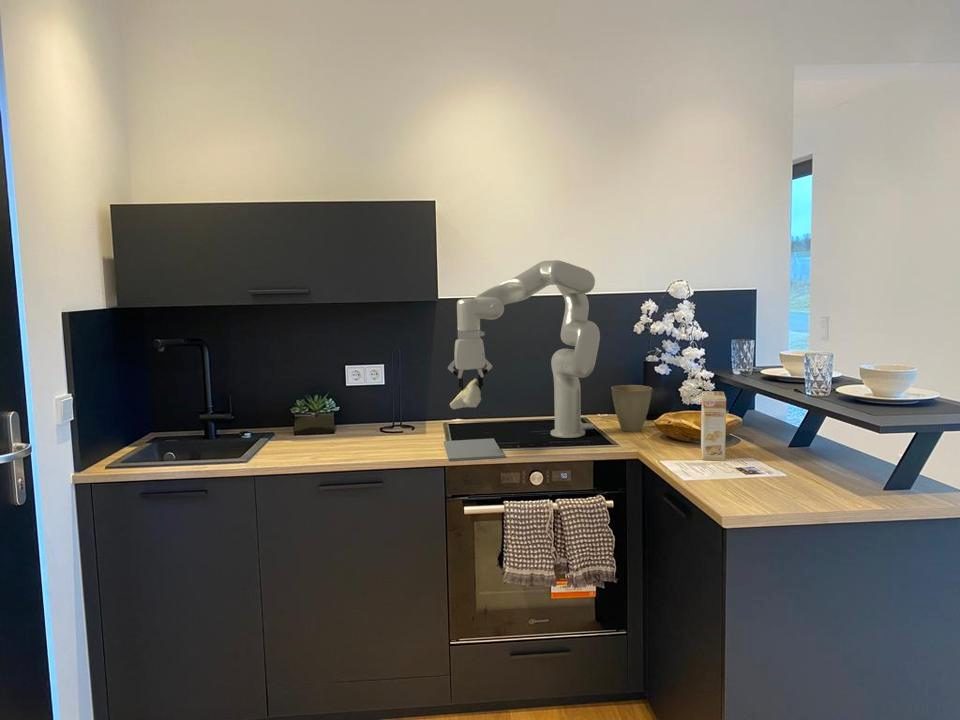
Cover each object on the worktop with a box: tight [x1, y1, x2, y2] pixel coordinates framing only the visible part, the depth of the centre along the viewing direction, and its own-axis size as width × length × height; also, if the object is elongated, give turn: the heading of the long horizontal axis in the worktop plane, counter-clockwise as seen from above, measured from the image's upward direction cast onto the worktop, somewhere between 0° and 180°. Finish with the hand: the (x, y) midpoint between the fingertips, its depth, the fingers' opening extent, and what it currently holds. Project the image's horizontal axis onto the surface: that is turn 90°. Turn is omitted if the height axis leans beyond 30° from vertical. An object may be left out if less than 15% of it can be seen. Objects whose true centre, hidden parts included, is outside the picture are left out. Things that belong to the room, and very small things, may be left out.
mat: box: [443, 438, 505, 462], centre depth 236 cm, size 18×24×1 cm
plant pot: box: [610, 384, 653, 433], centre depth 259 cm, size 15×15×16 cm
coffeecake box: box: [700, 390, 727, 462], centre depth 221 cm, size 15×7×20 cm, turn 164°
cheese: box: [449, 377, 482, 410], centre depth 232 cm, size 15×7×15 cm
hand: (470, 388), depth 233 cm, fingers closed on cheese, 5 cm apart
